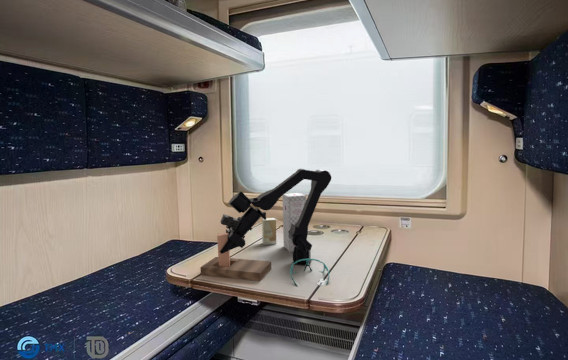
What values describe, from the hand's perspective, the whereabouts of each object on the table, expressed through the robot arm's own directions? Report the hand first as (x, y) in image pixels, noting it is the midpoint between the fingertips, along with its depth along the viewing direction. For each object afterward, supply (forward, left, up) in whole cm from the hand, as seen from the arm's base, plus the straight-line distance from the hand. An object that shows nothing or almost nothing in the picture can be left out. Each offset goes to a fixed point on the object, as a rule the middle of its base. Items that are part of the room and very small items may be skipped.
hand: (220, 251), depth 133 cm
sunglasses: (-34, -2, -9) cm, 36 cm away
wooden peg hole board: (-6, -1, -8) cm, 10 cm away
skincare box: (-6, -39, -8) cm, 40 cm away
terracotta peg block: (-1, -1, -7) cm, 7 cm away
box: (-20, -35, -8) cm, 41 cm away
